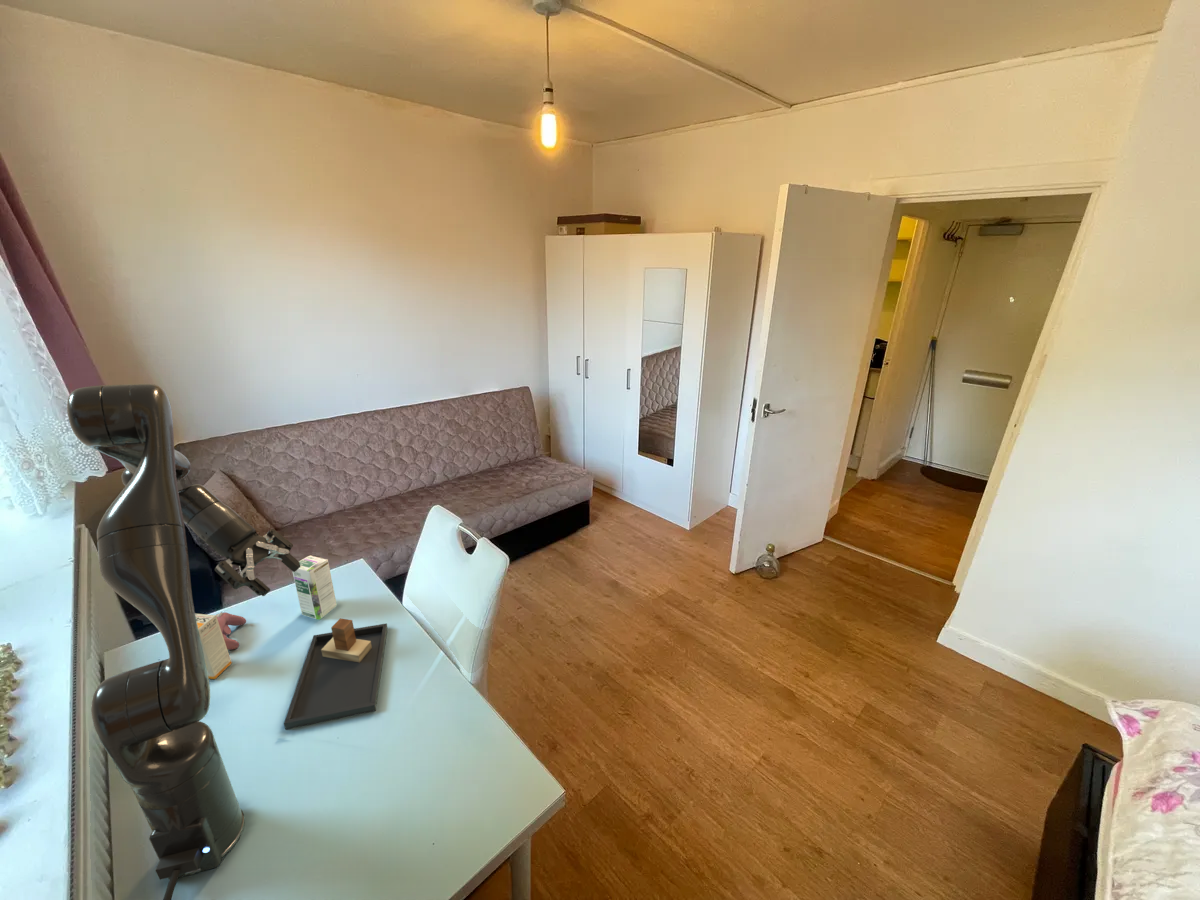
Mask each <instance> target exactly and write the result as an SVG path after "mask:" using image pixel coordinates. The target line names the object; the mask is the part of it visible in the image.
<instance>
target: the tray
mask: <svg viewBox="0 0 1200 900" xmlns="http://www.w3.org/2000/svg"><path fill="white" fill-rule="evenodd" d="M388 629H389V626H388V623H380V624H375V625H368V626H362V627H354V632H355V637H356V639H361V640H367V641H371V646H372V648H371V649H370V651H369V652H368V653H367V654H366V656H365V657H364V658H363V659H362V661H361V662H360V663H359V662H353V661H347V660H341V659H334V658H328V657H323V655H322V651H321V649H322V648H323V647H324V646H325V645H326V644H327V643H328V642H329V641H330V640H331V639H332V638H333V634H332V631H330V632H326V633H320V634H313V636H312V639H311V642H310V645H309V648H308V651H307V654H306V657H305V660H304V663H303V666H302V668H301V671H300V675H299V677H298V680H297V683H296V687H295V689H294V692H293V695H292V698H291V702H290V704H289V708H288V710H287V714H286V716H285V720H284V722H283V726H284V729H285V730H291V729H295V728H296V729H297V728H300V727H305V726H310V725H315V724H320V723H325V722H329V721H333V720H339V719H343V718H347V717H352V716H357V715H358V716H359V715H362V714H367V713H372V712H376V711H377V705H378V699H379V698H378V697H379V693H380V692H379V691H380V684H381V677H382V671H383V665H384V658H385V657H384V656H385V650H386V644H387V637H388Z"/></svg>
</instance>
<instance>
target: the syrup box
mask: <svg viewBox="0 0 1200 900" xmlns="http://www.w3.org/2000/svg"><path fill="white" fill-rule="evenodd" d="M298 561H299V563H300V568H299V569H298V570H296V571H295V572H293V571H292V570H291V572H292V576H293V580H294V586H295V588H296V594H297V599H298V603H299V607H300V612H301V616H305V617H308V618H311V619H315V620H318V621H320V620H321V619H322V618H324V617H325V616H326V615H327V614H329V613H330V612H332V610H334V609H335V608H336V607H338V605H337V600H336V595H335V589H334V584H333V579H332V573H331V569H330V563H329V559H328V558H323V557H319V556H315V555H308V556H306V557H304V558H302V559H301V560H298Z"/></svg>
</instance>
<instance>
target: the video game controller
mask: <svg viewBox="0 0 1200 900" xmlns="http://www.w3.org/2000/svg"><path fill="white" fill-rule="evenodd" d="M215 615H216V616H217V620H218V623H219V626H220V629H221V632H222V635H223V638H224V641H225V644H226V647H227V650H228V651H231V650H236V649H238V648H239V647H240V643H239V641H237V640H236V639H233V638H228V636H229V635H230V634H231V633H232V629H231V627H230V626H232V627H234V626H235V627H237V626H244V625H246V623H247V619H246V618H245V617H244V616H241V615H238V614H237V615H236V614H232V613H230V612H229V613H228V612H220V613H217V614H215Z"/></svg>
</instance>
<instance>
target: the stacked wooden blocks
mask: <svg viewBox="0 0 1200 900" xmlns="http://www.w3.org/2000/svg"><path fill="white" fill-rule="evenodd" d="M330 629H331V632H332V634H333V638H332V639H331V640H330V641H329V642H328V643H327V644H326V645H325V646H324V647H323V648H322V649H321V651H322V655H323V657H328V658H334V659H341V660H347V661H353V662H359V663H360V662H361V661H362V659H363V658H364V657H365V656H366V654H367V653H368V652H369V651H370V649H371V648H372V646H371V641H367V640H361V639H356V637H355V632H354V629H355V627H354V621H353V619H347V618H339V619H338V620H337V621H336V622H335V623H334V624H333V625H332V626H331V628H330Z"/></svg>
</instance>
